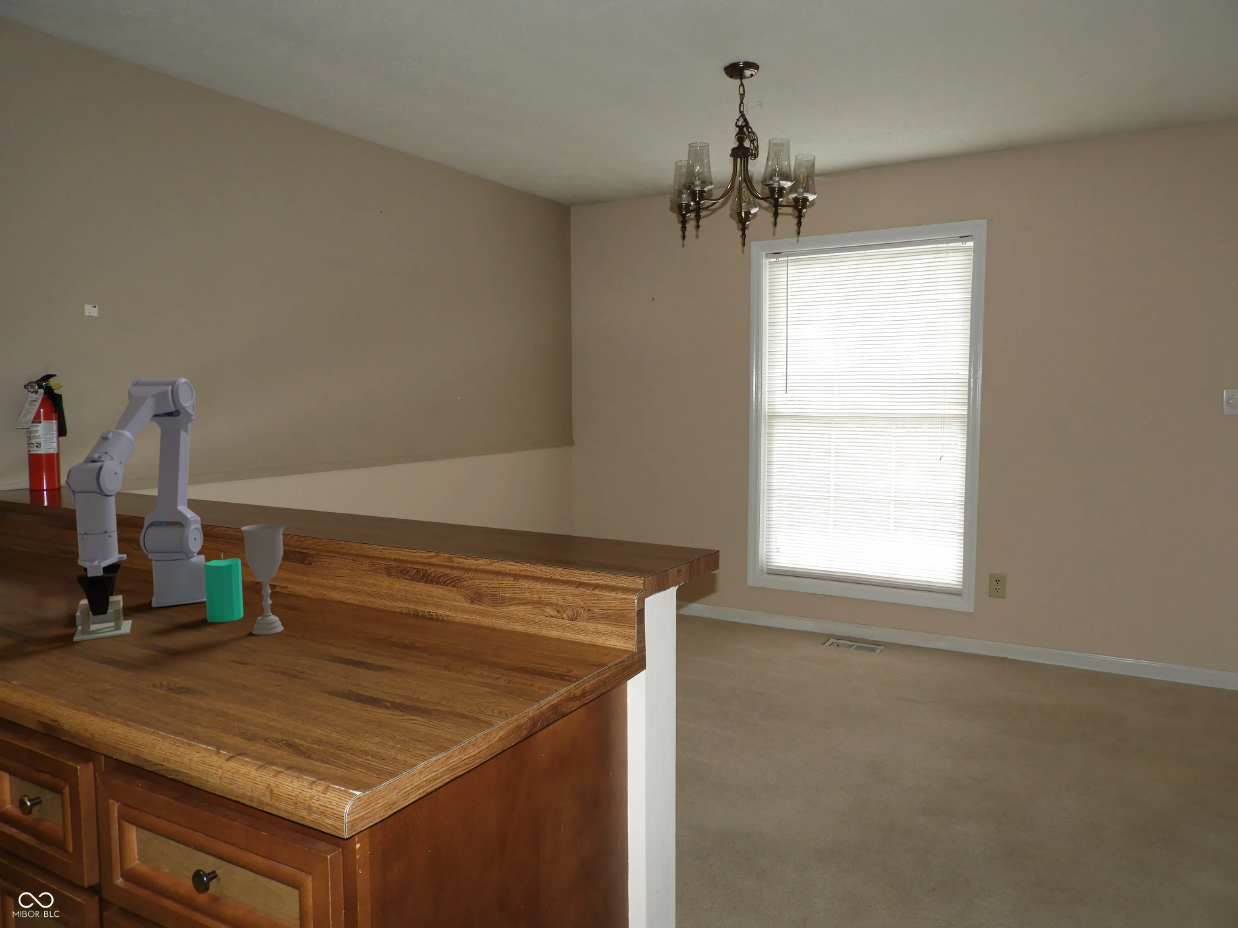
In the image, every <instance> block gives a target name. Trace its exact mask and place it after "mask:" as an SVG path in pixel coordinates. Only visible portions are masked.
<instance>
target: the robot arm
mask: <svg viewBox="0 0 1238 928" xmlns="http://www.w3.org/2000/svg"><path fill="white" fill-rule="evenodd" d="M196 393H197V392H196V391H195V389H194V387H193V385H192V384H191V382H190V381H189V380H188V379H187V378H185V377H177V378H176V377H175V378H173V377H172V378H143V377H142V378H141V377H139V378H135V379H134V380H133V381H132V383H131V385H130V387H129V388H128V389H127V397H128V399H127V400H128V404H127V405H126V406H125V409H124V411H123V413H122V414H121V416H120V418H119V420H118V422H117V423H116V426H115V428H114V429H109V430H106V431H103V432H102V433H101V434H100V436H99V438H98V439H97V441H96V443H94V446H93V447H92V448H91V449H90V451H89V452H88V454H87V455H86V457H85V458H84V460H83V461H82V462H77V463H75V464H74V465H72V466H71V467H70V468H69V469H68V471H67V474H66V478H65V479H64V484H65V487H66V490H67V491H68V493H69V495H70V498H71V499H70V501H71V504H72V506H73V507H75V514H76V515H75V516H76V529H77V531H76V532H77V543H78V544H77V546H78V548H77V549H78V559H77V564H78V565H79V566H81V567H83V569H82V570H83V571H84V572H85V574H77V576H76V577H75V578H76V581H77V583H78V584H79V585H80V587H81V590H83V593H84V594H85V596H86V598H85V599H87V601H88V604H89V608H90V611H91V613H92V616H99V615H107V612H108V608H109V599H110V596H114V594H115V593H114V592H115V584H116V580H117V575H118V573H119V571H120V568H121V566H122V562H121V561H124V560H126V559H127V554H119V545H118V543H119V542H118V529H117V514H116V513H117V512H116V510H117V509H116V498H115V497H116V496H115V494H116V493H118V492H119V491H120V490H121V488H122V485H123V476H124V474H125V466H126V465H127V464H128V462H129V460H130V459H131V457H132V456H133V454H134V452H135V451H136V449H137V443H136V441H135V438H136V437H137V436H138V435H139V433H140V432H141V431H142V430H143V429H144V428H145V426H146V425H147V423H148V422H149V421H150V422H153V423H156V424H157V426H158V427H159V429H160V438H159V439H160V443H159V464H158V481H157V482H158V484H157V499H156V501H157V503H156V504H157V505H156V507H155V509H154V510H152V511H151V512H150V513H149V514H147V515H146V516H145V518H144V524H143V528H142V531H141V533H140V536H139V537H140V538H139V543H140V548H141V549H142V551H143V553H145V555H147V557H148V560H151V562H152V563H151V564H152V577H153V579H152V582H153V596H152V599H151V600H152V602H151V607H152V608H160V607H168V606H177V605H184V604H185V605H186V604H193V603H194V604H195V603H203V602H206V590H205V571H204V563H206V562H205V561H206V560H205V558H206V557H205V555H204V554H198V552H200V549H201V548H202V546H203V542H204V534H203V530H202V525H201V524H202V522H201V519H202V518H201V517H200V516H198V514H196V513H195V512H193V511H192V510H191V509H189V507H188V490H189V471H190V470H189V468H190V467H189V466H190V447H191V446H190V444H191V442H190V441H191V423H192V422H194V421H195V415H196V398H197V394H196ZM168 522H180V523H168Z"/></svg>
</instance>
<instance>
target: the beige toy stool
mask: <svg viewBox="0 0 1238 928" xmlns="http://www.w3.org/2000/svg"><path fill="white" fill-rule="evenodd" d="M123 605H124V604H123V595H121V594H120V595H119V594H118V595H113V596H110V599H109V608H108V610H114V626H115V630H122V626H123V621H124V617H123V615H124V614H123ZM78 609H79V613H80V617H81V632H82V634H89V630H90V629H91V619H90V612H91V611H90V608H89V604H88V601H87V598H85V599H84V598H83V599H82V598H81V600H80V601H79V603H78Z"/></svg>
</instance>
